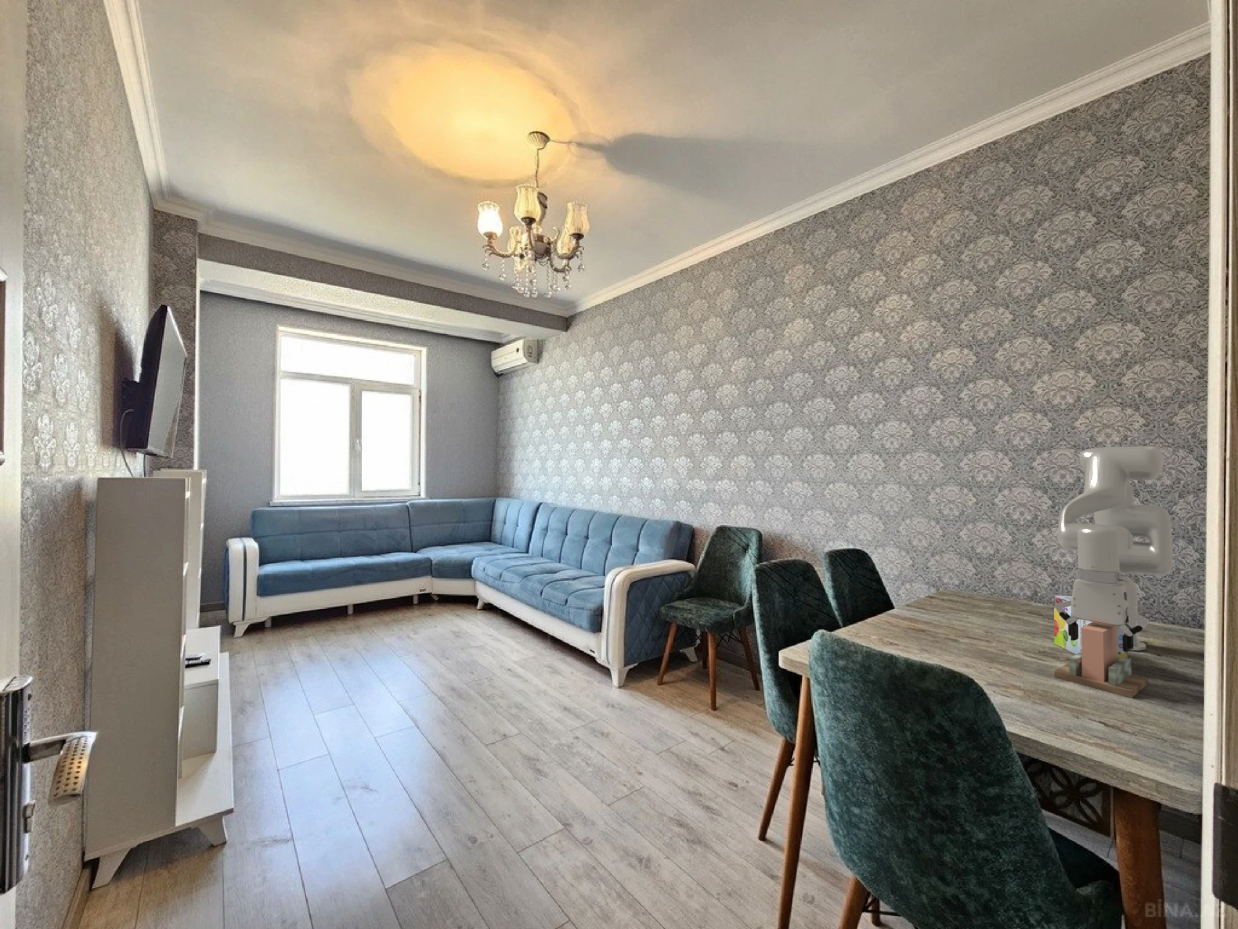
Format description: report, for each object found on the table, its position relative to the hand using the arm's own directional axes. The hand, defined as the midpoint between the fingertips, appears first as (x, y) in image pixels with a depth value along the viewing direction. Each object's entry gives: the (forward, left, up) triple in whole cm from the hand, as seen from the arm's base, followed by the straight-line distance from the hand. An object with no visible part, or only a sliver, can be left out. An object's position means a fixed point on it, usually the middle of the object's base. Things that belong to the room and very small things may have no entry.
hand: (1099, 645), depth 124 cm
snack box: (-19, -7, -9) cm, 22 cm away
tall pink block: (0, 0, -7) cm, 7 cm away
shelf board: (0, 0, -9) cm, 9 cm away
